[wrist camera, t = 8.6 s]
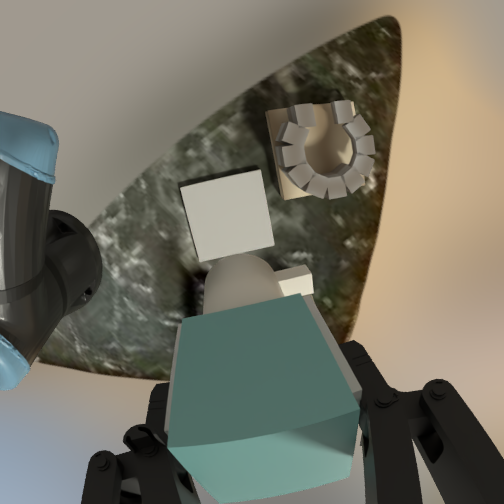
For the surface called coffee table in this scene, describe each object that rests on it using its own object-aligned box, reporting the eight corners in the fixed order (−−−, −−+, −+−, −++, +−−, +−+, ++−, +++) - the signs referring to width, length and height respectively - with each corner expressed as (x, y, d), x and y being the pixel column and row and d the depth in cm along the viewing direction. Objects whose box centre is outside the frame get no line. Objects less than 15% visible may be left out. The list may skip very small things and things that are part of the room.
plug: (212, 326, 20) (219, 503, 8) (192, 260, 18) (167, 447, 6) (309, 304, 21) (390, 461, 8) (300, 236, 19) (417, 385, 7)
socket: (281, 197, 37) (291, 206, 32) (265, 112, 33) (273, 106, 28) (358, 182, 37) (378, 190, 32) (346, 103, 33) (366, 98, 28)
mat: (200, 260, 39) (199, 262, 38) (180, 187, 35) (180, 187, 35) (273, 243, 39) (274, 245, 39) (259, 169, 35) (260, 169, 35)
